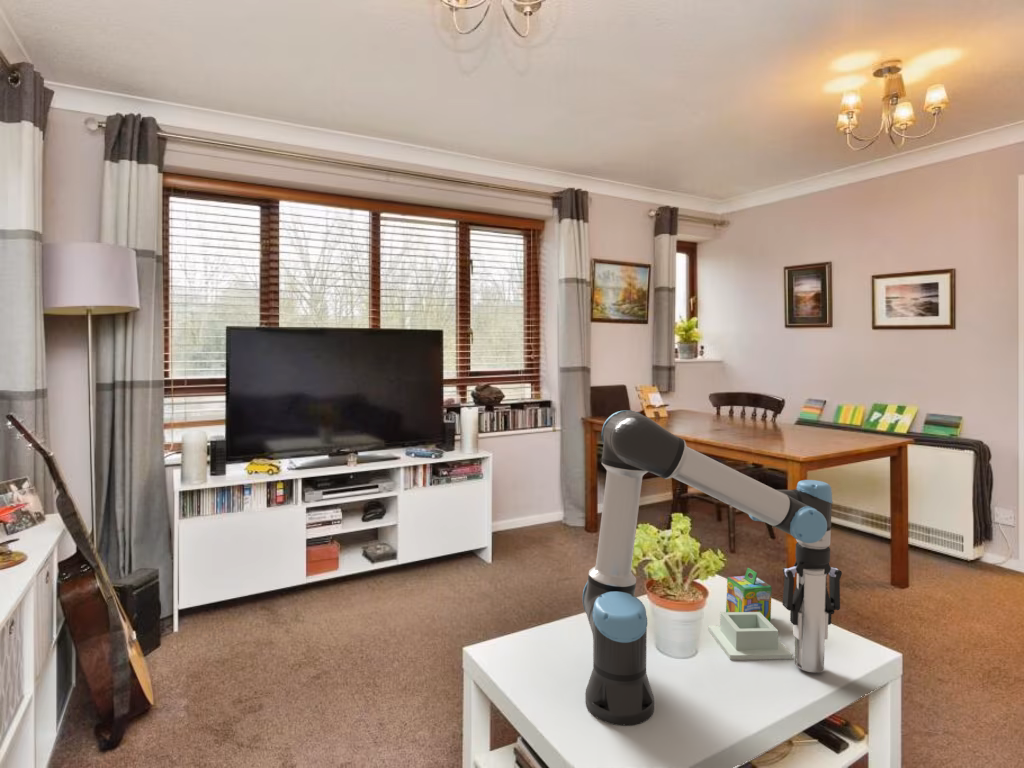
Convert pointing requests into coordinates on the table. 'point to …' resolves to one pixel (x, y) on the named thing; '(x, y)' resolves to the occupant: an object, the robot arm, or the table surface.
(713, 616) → the table surface
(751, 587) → the chalk box
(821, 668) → the silver metal bar
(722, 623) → the socket block
